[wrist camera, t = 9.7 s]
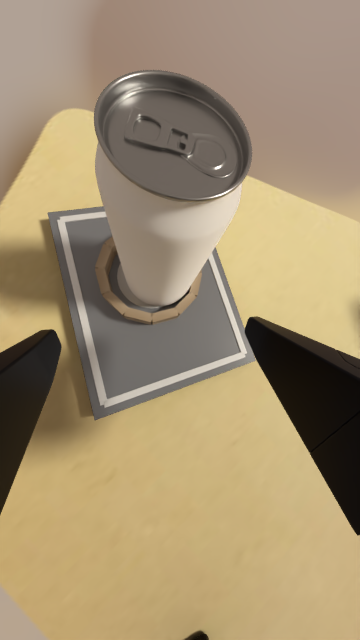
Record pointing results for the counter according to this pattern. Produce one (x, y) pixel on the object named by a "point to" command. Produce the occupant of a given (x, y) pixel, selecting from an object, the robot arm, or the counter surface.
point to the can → (167, 177)
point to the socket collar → (102, 274)
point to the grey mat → (139, 338)
